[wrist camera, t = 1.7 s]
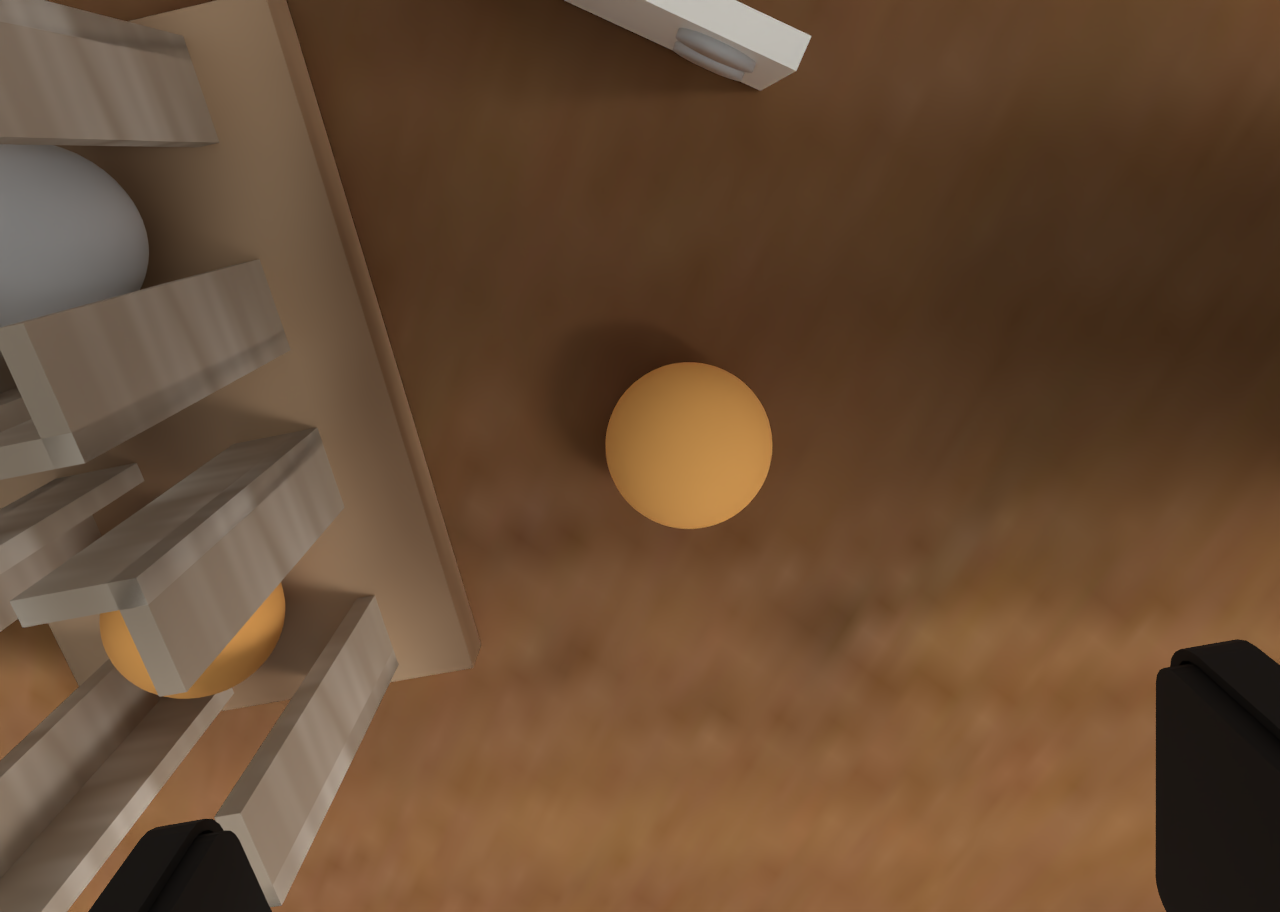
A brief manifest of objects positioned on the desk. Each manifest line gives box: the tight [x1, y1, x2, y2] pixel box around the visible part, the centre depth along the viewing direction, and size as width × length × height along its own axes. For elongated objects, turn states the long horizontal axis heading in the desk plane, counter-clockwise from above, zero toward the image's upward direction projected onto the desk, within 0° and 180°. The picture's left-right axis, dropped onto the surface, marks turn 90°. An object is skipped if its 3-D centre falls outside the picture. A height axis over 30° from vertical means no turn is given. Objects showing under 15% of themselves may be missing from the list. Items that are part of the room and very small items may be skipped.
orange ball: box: [605, 362, 773, 529], centre depth 20 cm, size 4×4×4 cm
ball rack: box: [0, 0, 481, 912], centre depth 18 cm, size 11×17×9 cm, turn 11°
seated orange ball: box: [99, 582, 285, 699], centre depth 21 cm, size 4×4×4 cm
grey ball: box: [0, 144, 149, 327], centre depth 18 cm, size 4×4×4 cm
